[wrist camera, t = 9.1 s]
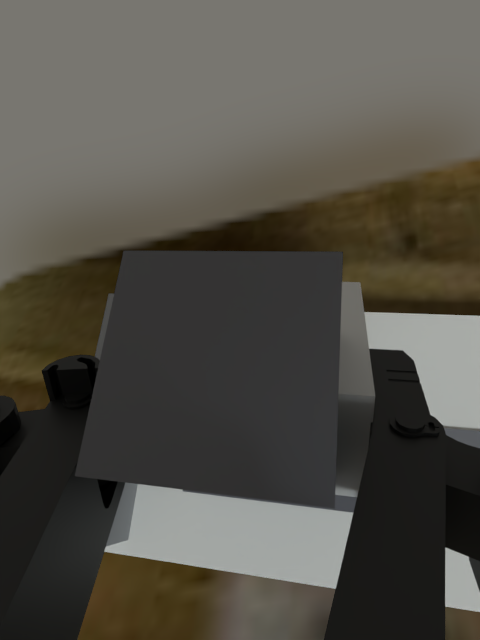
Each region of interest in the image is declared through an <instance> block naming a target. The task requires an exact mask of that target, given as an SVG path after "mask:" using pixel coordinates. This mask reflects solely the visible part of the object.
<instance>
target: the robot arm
mask: <svg viewBox="0 0 480 640" xmlns="http://www.w3.org/2000/svg"><path fill="white" fill-rule="evenodd" d="M99 362H100V360H99V359H98V358H96V357H94V356H91V355H76V356H69V357H66V358H62V359H59V360H57V361H55V362H53V363H51V364H49V365H48V366H46V367H45V368H44V369H43V370H42V373H43V377H44V380H45V384H46V388H47V391H48V395H49V398H50V402H49V404H48V405H47V407H46V408H45V409H41V410H33V411H25V412H18V410H17V407H16V404H15V402H14V400H13V399H12V398H10V397H7V396H0V640H77V638H78V635H79V632H80V628H81V625H82V622H83V619H84V615H85V612H86V609H87V606H88V602H89V599H90V596H91V593H92V589H93V586H94V583H95V580H96V577H97V573H98V570H99V567H100V564H101V560H102V557H103V554H104V551H105V547H106V544H107V541H108V538H109V534H110V531H111V528H112V525H113V522H114V518H115V515H116V512H117V509H118V505H119V502H120V499H121V496H122V492H123V489H124V486H125V482H118V481H109V480H101V479H93V478H85V477H77V476H75V472H76V467H77V463H78V458H79V454H80V449H81V444H82V440H83V435H84V431H85V426H86V421H87V417H88V412H89V408H90V403H91V398H92V394H93V389H94V385H95V380H96V375H97V371H98V366H99ZM335 495H342V496H351V497H357V500H356V504H355V508H354V512H353V517H352V521H351V525H350V530H349V534H348V538H347V543H346V547H345V551H344V556H343V560H342V564H341V569H340V573H339V577H338V582H337V586H336V590H335V594H334V599H333V603H332V607H331V612H330V616H329V620H328V625H327V629H326V633H325V638H324V640H445V547H446V548H448V549H451V550H453V551H456V552H458V553H461V554H463V555H466V556H468V557H469V561H470V564H471V567H472V570H473V573H474V576H475V579H476V582H477V585H478V588H479V591H480V448H477V447H473V446H470V445H467V444H464V443H462V442H459V441H457V440H455V439H453V438H451V437H449V436H447V435H446V433H445V430H444V427H443V425H442V424H441V423H440V422H439V421H438V420H437V419H436V418H435V417H433V416H431V415H430V412H429V408H428V405H427V402H426V399H425V395H424V392H423V389H422V386H421V383H420V379H419V376H418V374H417V369H416V366H415V363H414V360H413V359H412V358H411V357H409V356H408V355H407V354H406V353H405V352H404V351H403V350H386V349H369V344H368V337H367V329H366V322H365V314H364V307H363V299H362V292H361V284H360V282H342V297H341V328H340V360H339V392H338V423H337V455H336V486H335Z"/></svg>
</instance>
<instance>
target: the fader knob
mask: <svg viewBox="0 0 480 640" xmlns="http://www.w3.org/2000/svg"><path fill="white" fill-rule="evenodd" d="M342 265H343V252H291V251H123V256H122V261H121V265H120V270H119V274H118V279H117V284H116V288H115V293H114V297H113V302H112V307H111V311H110V316H109V320H108V325H107V330H106V334H105V339H104V343H103V348H102V353H101V357H100V362H99V366H98V371H97V375H96V380H95V385H94V389H93V394H92V398H91V403H90V408H89V412H88V417H87V421H86V426H85V431H84V435H83V440H82V444H81V449H80V454H79V458H78V463H77V467H76V472H75V476H77V477H85V478H93V479H101V480H109V481H118V482H126V483H134V484H142V485H150V486H158V487H166V488H174V489H182V490H183V491H184V492H192V493H200V494H208V495H216V496H224V497H232V498H240V499H248V500H256V501H264V502H272V503H280V504H288V505H296V506H304V507H312V508H320V509H328V510H336V511H344V512H352V513H353V512H354V508H355V504H356V500H357V497H351V496H342V495H335V486H336V455H337V423H338V392H339V360H340V328H341V297H342Z"/></svg>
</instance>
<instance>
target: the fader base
mask: <svg viewBox="0 0 480 640" xmlns="http://www.w3.org/2000/svg"><path fill="white" fill-rule="evenodd" d="M113 297H114V294H109V295H108V299H107V304H106V308H105V313H104V317H103V322H102V326H101V331H100V335H99V340H98V344H97V349H96V353H95V357H96V358H98V359H99V360H100V357H101V353H102V348H103V343H104V339H105V334H106V330H107V325H108V320H109V316H110V311H111V307H112V302H113ZM364 314H365V322H366V329H367V337H368V344H369V349H386V350H403V351H404V352H405V353H406V354H407V355H408V356H409V357H411V358H412V359H413V360H414V363H415V366H416V369H417V374H418V376H419V379H420V383H421V386H422V389H423V392H424V395H425V399H426V402H427V405H428V408H429V412H430V415H431V416H433V417H435V418H436V419H437V420H438V421H439V422H440V423H441V424H442V425H443V427H444V430H445V433H446V435H447V436H449V437H451V438H453V439H455V440H457V441H459V442H462V443H464V444H467V445H470V446H473V447H477V448H480V316H471V315H440V314H410V313H379V312H364ZM352 517H353V513H352V512H344V511H336V510H328V509H320V508H312V507H304V506H296V505H288V504H280V503H272V502H264V501H256V500H248V499H240V498H232V497H224V496H216V495H208V494H200V493H192V492H184V491H183V490H182V489H174V488H166V487H158V486H150V485H142V484H134V483H126V482H125V486H124V489H123V492H122V496H121V499H120V502H119V505H118V509H117V512H116V515H115V518H114V522H113V525H112V528H111V531H110V534H109V538H108V541H107V544H106V547H105V551H104V552H111V553H117V554H123V555H129V556H135V557H142V558H148V559H154V560H160V561H166V562H173V563H179V564H185V565H191V566H198V567H204V568H210V569H216V570H222V571H229V572H235V573H241V574H247V575H253V576H260V577H266V578H272V579H278V580H284V581H291V582H297V583H303V584H309V585H316V586H322V587H328V588H334V589H336V586H337V582H338V577H339V573H340V569H341V564H342V560H343V556H344V551H345V547H346V543H347V538H348V534H349V530H350V525H351V521H352ZM445 606H446V607H452V608H458V609H465V610H471V611H477V612H480V591H479V588H478V585H477V582H476V579H475V576H474V573H473V570H472V567H471V564H470V561H469V557H468V556H466V555H463V554H461V553H458V552H456V551H453V550H451V549H448V548H446V547H445Z"/></svg>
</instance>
